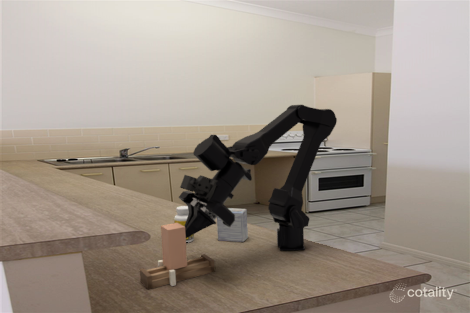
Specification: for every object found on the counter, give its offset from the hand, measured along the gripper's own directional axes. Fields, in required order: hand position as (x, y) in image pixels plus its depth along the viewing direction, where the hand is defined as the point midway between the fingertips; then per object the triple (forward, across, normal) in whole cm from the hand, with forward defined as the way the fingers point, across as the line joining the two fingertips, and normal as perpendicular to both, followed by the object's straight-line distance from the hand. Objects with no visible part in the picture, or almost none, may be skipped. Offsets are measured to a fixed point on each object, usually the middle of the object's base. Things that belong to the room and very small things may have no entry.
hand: (182, 237), depth 93 cm
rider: (+7, 0, +3) cm, 7 cm away
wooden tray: (+7, 0, +5) cm, 9 cm away
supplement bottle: (-1, -23, +14) cm, 27 cm away
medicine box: (-9, -16, +22) cm, 29 cm away
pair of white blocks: (+9, 0, +3) cm, 10 cm away
